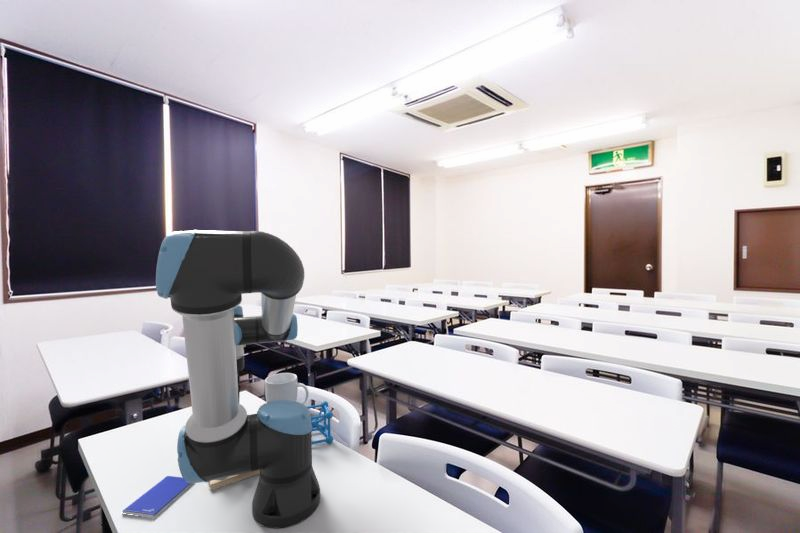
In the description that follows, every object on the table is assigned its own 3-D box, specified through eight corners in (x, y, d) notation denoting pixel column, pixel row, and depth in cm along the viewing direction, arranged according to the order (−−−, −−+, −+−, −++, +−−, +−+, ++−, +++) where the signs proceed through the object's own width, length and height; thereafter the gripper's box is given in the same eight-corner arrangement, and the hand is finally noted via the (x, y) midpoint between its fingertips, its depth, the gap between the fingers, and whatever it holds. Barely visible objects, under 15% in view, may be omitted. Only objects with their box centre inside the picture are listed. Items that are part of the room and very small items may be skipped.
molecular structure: (333, 444, 109) (333, 412, 108) (300, 451, 105) (299, 418, 105) (328, 428, 118) (327, 399, 118) (296, 434, 114) (296, 404, 114)
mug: (309, 404, 136) (308, 370, 136) (308, 417, 126) (307, 381, 125) (268, 408, 133) (267, 374, 132) (263, 422, 122) (262, 385, 122)
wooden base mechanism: (261, 472, 95) (260, 449, 95) (210, 490, 88) (209, 466, 88) (242, 435, 114) (241, 416, 114) (199, 448, 107) (198, 427, 107)
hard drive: (153, 514, 79) (194, 478, 92) (122, 509, 81) (166, 475, 93) (154, 520, 79) (194, 484, 92) (122, 516, 81) (166, 481, 93)
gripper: (248, 360, 103) (251, 439, 105) (239, 350, 114) (241, 422, 115) (220, 365, 99) (222, 448, 100) (213, 354, 110) (215, 429, 111)
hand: (232, 434), depth 108 cm, fingers closed
